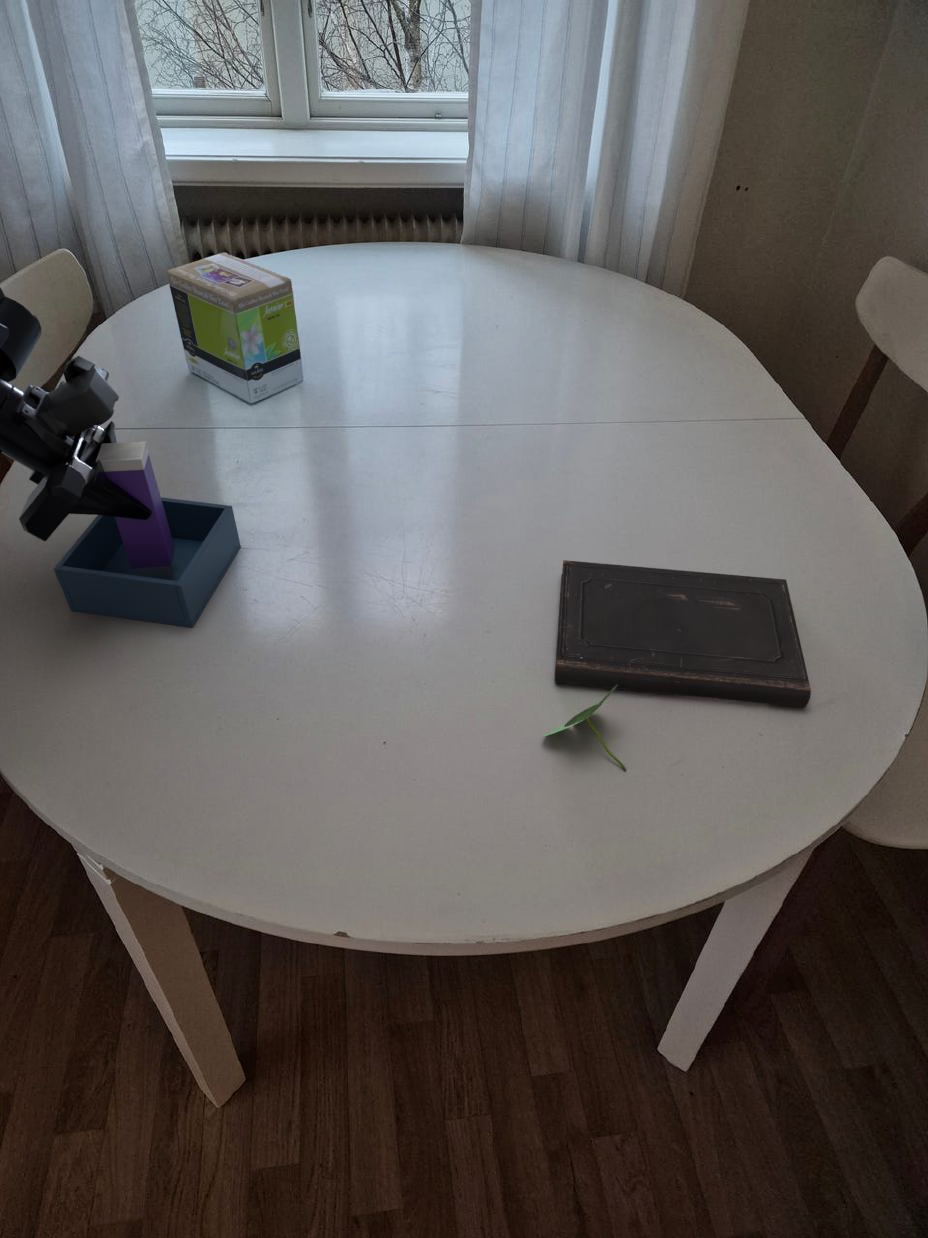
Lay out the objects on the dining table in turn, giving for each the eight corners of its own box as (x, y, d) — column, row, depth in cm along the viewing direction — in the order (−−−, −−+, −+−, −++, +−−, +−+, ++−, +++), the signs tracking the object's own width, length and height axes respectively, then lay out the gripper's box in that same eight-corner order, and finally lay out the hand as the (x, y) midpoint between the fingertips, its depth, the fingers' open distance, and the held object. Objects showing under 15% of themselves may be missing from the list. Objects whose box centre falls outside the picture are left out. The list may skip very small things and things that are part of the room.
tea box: (307, 380, 123) (293, 277, 113) (250, 406, 118) (231, 300, 107) (241, 347, 130) (224, 248, 120) (185, 371, 125) (162, 268, 115)
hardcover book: (561, 576, 92) (563, 559, 91) (780, 595, 90) (786, 579, 89) (553, 686, 81) (556, 669, 79) (804, 711, 79) (812, 694, 77)
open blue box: (70, 610, 88) (53, 568, 84) (129, 532, 97) (116, 491, 93) (192, 627, 86) (180, 585, 82) (241, 546, 95) (232, 505, 92)
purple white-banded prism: (130, 569, 88) (95, 461, 80) (135, 550, 91) (101, 443, 82) (171, 566, 89) (141, 459, 80) (175, 548, 91) (146, 441, 82)
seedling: (589, 786, 79) (549, 725, 79) (663, 741, 76) (621, 679, 77) (576, 807, 72) (532, 741, 72) (657, 758, 70) (611, 690, 70)
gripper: (12, 404, 67) (187, 511, 75) (65, 303, 80) (209, 404, 89) (-54, 494, 71) (118, 585, 80) (7, 385, 85) (148, 473, 93)
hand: (151, 506), depth 85 cm, fingers closed on purple white-banded prism, 3 cm apart
